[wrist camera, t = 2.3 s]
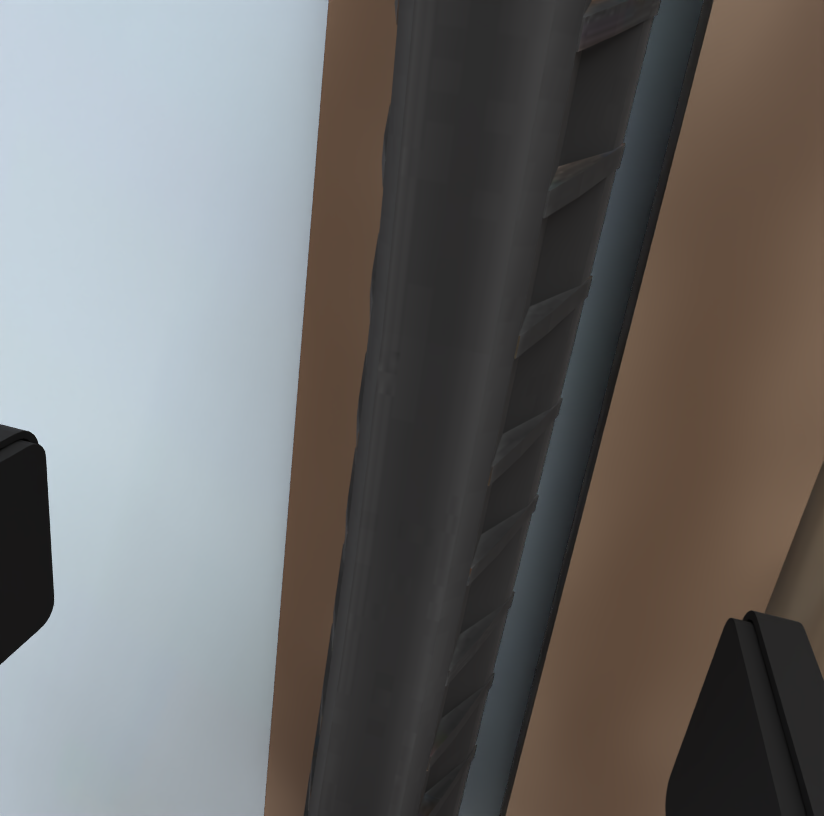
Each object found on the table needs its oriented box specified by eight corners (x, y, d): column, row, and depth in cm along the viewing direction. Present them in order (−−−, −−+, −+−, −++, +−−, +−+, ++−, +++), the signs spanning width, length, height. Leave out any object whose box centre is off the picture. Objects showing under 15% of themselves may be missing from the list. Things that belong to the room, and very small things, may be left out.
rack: (1755, -559, 10) (2186, -816, 7) (856, 985, 22) (887, 1105, 20) (435, -539, 13) (384, -710, 10) (298, 796, 26) (259, 877, 23)
